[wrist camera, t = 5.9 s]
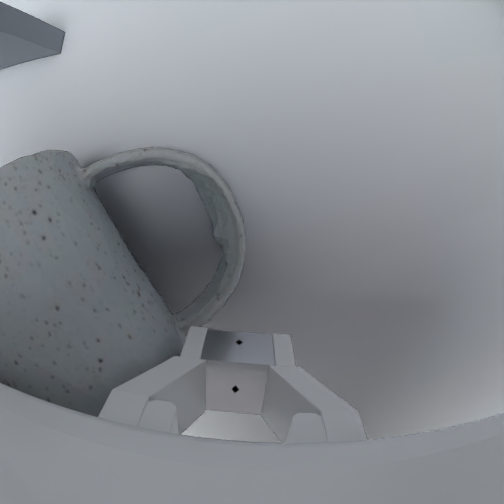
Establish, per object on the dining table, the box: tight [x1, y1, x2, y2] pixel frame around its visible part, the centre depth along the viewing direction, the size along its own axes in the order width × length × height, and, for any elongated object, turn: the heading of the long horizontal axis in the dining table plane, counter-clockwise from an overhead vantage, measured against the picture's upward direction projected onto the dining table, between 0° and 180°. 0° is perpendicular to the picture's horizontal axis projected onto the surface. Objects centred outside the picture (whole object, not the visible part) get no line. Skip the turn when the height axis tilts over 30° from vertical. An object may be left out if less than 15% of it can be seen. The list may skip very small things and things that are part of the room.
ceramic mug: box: [0, 147, 246, 417], centre depth 8 cm, size 11×8×8 cm
